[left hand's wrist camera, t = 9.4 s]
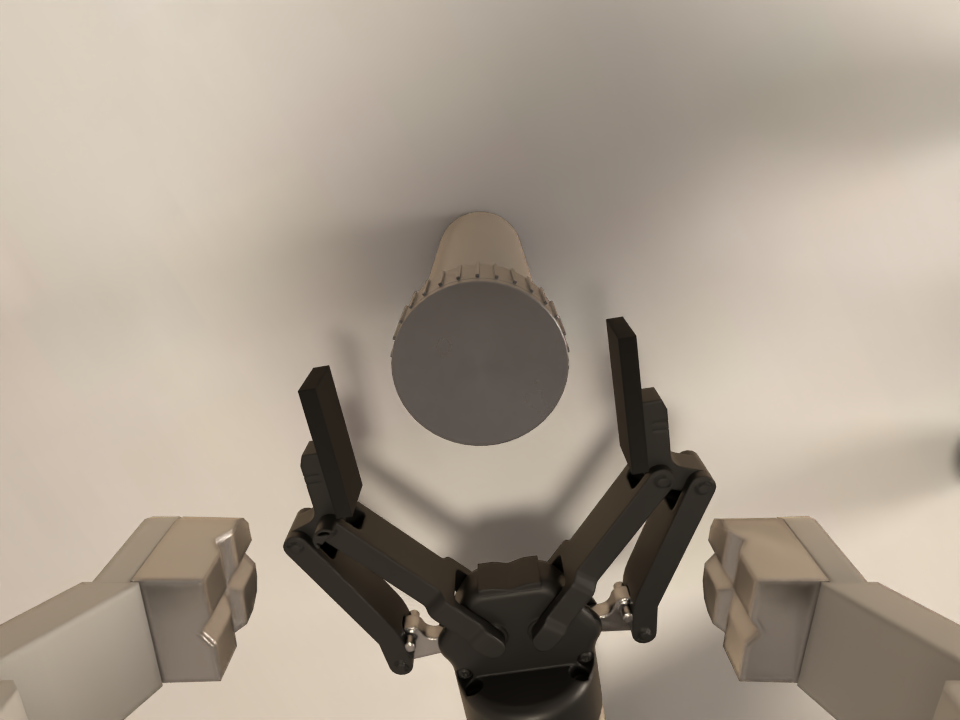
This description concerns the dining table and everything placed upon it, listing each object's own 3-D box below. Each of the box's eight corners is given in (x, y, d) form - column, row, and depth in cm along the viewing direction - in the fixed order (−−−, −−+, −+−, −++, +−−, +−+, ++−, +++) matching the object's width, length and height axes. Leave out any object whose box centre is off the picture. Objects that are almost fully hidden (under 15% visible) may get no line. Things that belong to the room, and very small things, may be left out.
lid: (388, 403, 21) (378, 433, 19) (410, 247, 19) (401, 262, 17) (543, 428, 21) (549, 461, 19) (579, 277, 19) (590, 296, 17)
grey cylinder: (432, 286, 34) (397, 415, 19) (446, 204, 32) (417, 278, 18) (512, 300, 34) (536, 438, 19) (529, 219, 32) (568, 305, 18)
